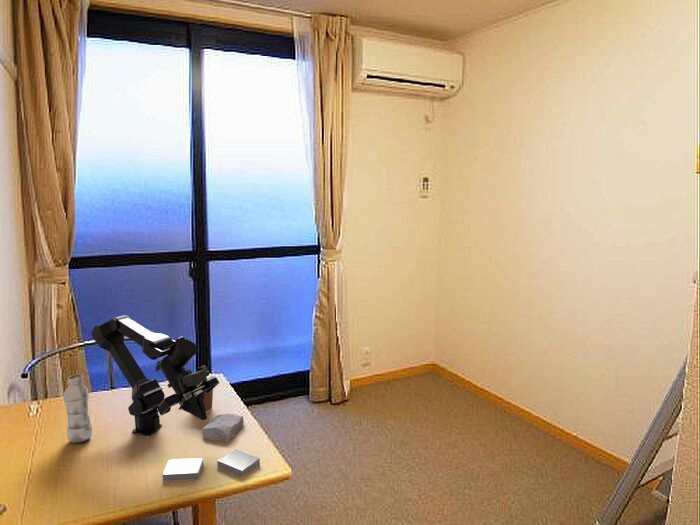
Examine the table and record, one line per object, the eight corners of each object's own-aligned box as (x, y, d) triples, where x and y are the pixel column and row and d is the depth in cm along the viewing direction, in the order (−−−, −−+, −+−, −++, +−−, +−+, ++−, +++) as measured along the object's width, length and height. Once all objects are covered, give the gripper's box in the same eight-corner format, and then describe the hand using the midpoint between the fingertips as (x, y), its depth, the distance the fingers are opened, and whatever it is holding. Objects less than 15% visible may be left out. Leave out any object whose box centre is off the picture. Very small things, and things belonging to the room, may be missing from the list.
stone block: (200, 444, 152) (230, 442, 150) (197, 429, 152) (227, 427, 150) (218, 427, 164) (246, 424, 162) (215, 413, 163) (243, 410, 161)
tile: (217, 460, 137) (242, 470, 132) (235, 448, 143) (259, 458, 138) (217, 468, 137) (242, 479, 133) (235, 456, 143) (259, 466, 139)
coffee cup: (204, 401, 177) (203, 368, 175) (221, 408, 172) (220, 374, 170) (182, 410, 170) (181, 377, 168) (200, 418, 164) (198, 383, 162)
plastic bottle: (96, 439, 150) (91, 376, 147) (72, 448, 146) (66, 383, 142) (88, 432, 155) (83, 370, 151) (64, 440, 150) (58, 377, 146)
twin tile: (162, 482, 131) (162, 474, 130) (169, 467, 138) (169, 459, 137) (198, 481, 132) (198, 472, 131) (203, 466, 138) (202, 458, 138)
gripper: (162, 370, 134) (193, 419, 130) (214, 350, 150) (242, 393, 146) (144, 391, 139) (173, 439, 136) (196, 369, 155) (223, 411, 152)
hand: (205, 419), depth 142 cm, fingers closed
